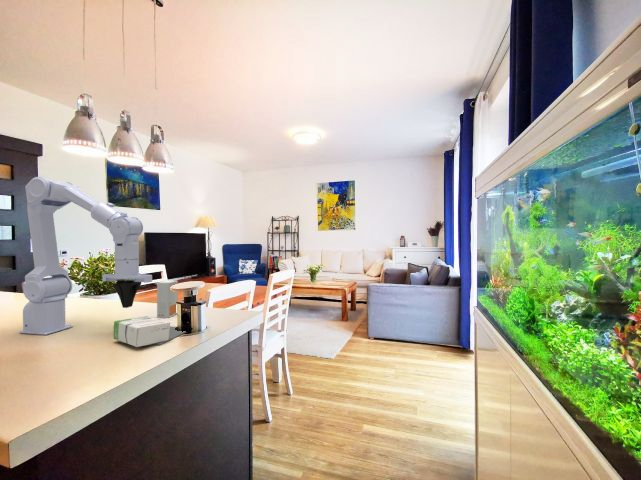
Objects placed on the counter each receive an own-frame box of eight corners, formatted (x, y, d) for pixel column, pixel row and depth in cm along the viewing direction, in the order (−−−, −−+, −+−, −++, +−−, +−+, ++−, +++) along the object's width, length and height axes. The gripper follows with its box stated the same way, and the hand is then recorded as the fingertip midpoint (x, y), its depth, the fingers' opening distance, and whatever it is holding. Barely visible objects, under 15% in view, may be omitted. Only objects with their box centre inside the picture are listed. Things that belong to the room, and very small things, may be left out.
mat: (119, 342, 79) (119, 341, 79) (157, 326, 93) (157, 325, 93) (160, 345, 77) (160, 344, 77) (193, 328, 90) (193, 327, 90)
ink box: (112, 339, 79) (135, 348, 72) (114, 319, 79) (136, 327, 73) (146, 332, 86) (169, 341, 80) (147, 315, 86) (171, 321, 80)
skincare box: (168, 318, 102) (168, 282, 102) (156, 317, 102) (156, 282, 102) (178, 313, 108) (178, 280, 108) (166, 313, 108) (166, 280, 108)
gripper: (159, 258, 89) (159, 304, 89) (116, 258, 91) (117, 302, 91) (141, 260, 82) (141, 310, 82) (95, 259, 84) (96, 308, 85)
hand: (127, 307), depth 86 cm, fingers closed
